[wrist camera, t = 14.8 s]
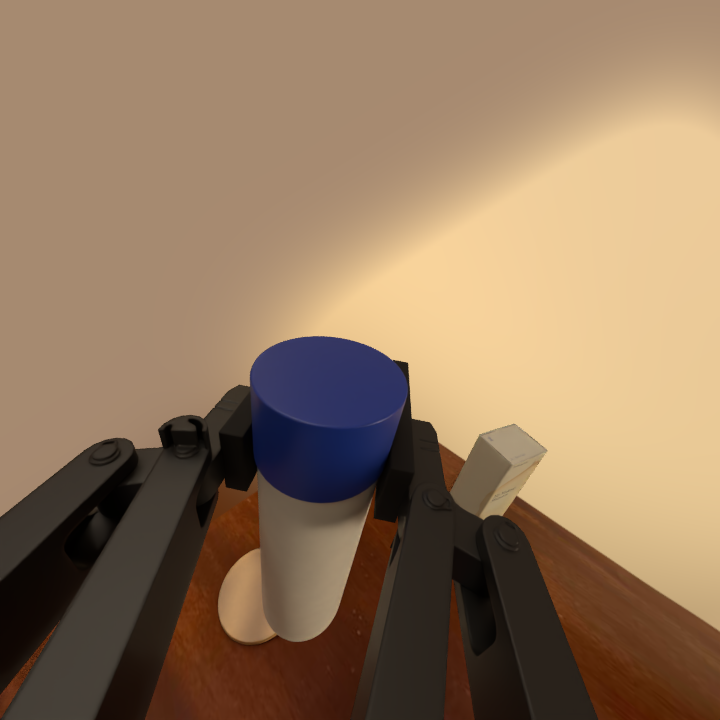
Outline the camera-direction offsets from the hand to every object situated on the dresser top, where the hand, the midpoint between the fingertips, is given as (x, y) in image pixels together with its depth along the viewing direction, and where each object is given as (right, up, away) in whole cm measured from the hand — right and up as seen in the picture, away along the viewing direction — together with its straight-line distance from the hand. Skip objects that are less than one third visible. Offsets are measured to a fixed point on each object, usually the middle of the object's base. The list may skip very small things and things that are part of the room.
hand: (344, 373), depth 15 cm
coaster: (-8, -20, +11) cm, 24 cm away
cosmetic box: (+15, -19, +21) cm, 32 cm away
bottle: (-2, -12, +1) cm, 13 cm away
